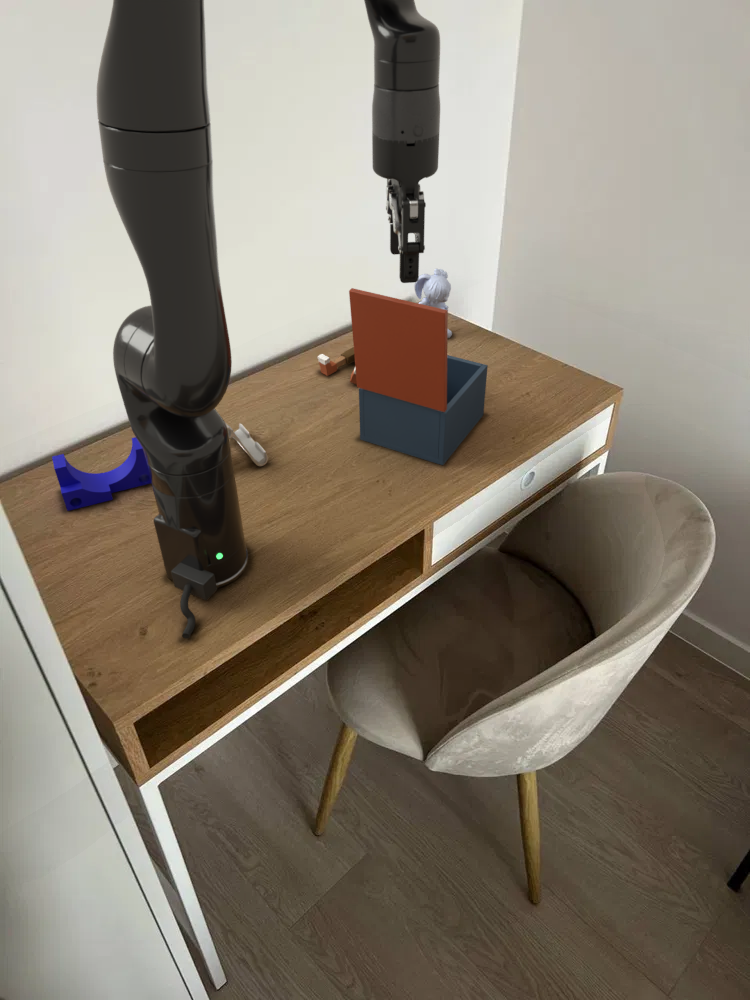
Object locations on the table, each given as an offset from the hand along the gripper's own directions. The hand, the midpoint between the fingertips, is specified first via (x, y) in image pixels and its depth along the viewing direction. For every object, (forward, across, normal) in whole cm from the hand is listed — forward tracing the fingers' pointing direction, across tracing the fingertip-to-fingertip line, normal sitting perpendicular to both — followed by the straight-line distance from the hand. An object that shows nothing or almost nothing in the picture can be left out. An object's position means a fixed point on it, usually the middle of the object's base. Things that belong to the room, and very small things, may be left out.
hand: (403, 267), depth 101 cm
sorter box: (+28, -5, +4) cm, 29 cm away
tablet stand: (+28, -1, -25) cm, 37 cm away
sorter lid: (+11, +1, 0) cm, 11 cm away
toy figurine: (+28, -34, +11) cm, 45 cm away
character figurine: (+28, -27, -2) cm, 39 cm away
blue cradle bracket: (+28, +4, -41) cm, 50 cm away
